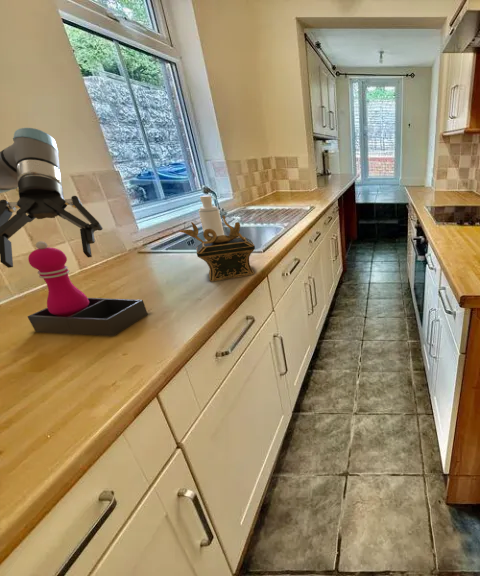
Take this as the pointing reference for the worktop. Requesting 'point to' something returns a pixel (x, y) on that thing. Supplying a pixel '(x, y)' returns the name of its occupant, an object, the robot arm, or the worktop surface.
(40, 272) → the pepper mill
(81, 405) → the worktop surface
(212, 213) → the cream bottle
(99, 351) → the worktop surface
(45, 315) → the divided tray
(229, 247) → the decorative box
